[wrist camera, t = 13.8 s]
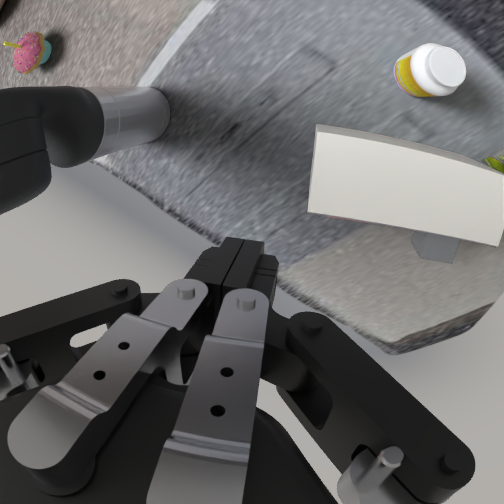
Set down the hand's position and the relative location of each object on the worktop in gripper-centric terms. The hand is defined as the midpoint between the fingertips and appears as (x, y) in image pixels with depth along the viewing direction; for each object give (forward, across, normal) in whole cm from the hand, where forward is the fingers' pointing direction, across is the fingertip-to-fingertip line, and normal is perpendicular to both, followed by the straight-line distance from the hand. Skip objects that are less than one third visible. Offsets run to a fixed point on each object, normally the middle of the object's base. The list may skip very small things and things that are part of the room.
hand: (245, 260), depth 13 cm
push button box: (+35, +14, 0) cm, 38 cm away
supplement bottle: (+35, +16, +14) cm, 41 cm away
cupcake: (+35, -49, +19) cm, 63 cm away
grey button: (+29, +21, -6) cm, 37 cm away
